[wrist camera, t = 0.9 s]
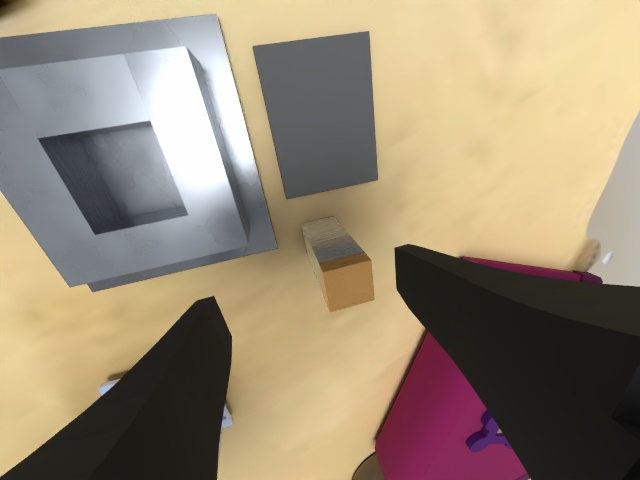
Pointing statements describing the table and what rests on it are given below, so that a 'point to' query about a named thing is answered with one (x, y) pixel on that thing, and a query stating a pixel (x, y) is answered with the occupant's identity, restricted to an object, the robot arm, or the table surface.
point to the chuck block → (129, 150)
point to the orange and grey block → (338, 264)
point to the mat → (320, 111)
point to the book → (450, 415)
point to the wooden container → (369, 470)
